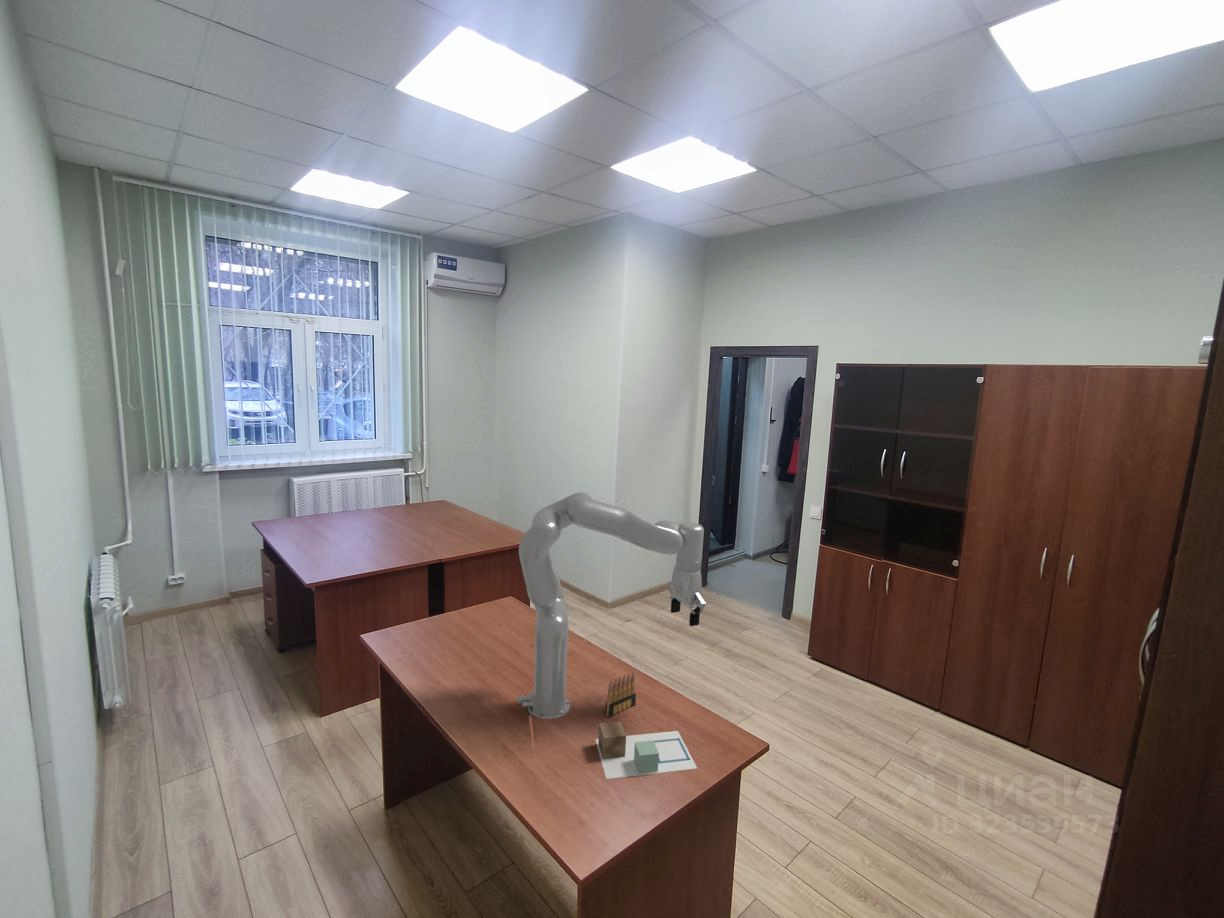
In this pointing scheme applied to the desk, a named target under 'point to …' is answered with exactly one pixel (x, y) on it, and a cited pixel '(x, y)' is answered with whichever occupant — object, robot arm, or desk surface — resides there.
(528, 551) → the robot arm
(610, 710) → the ammunition clip
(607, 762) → the building board
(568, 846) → the desk surface
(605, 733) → the walnut block
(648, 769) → the sage cube
